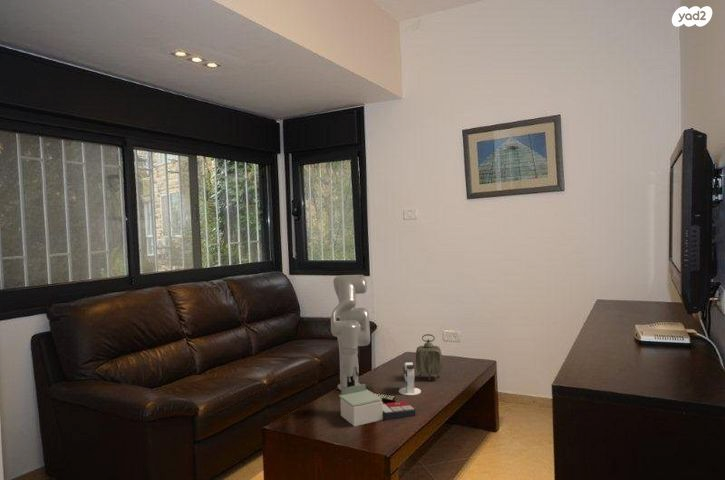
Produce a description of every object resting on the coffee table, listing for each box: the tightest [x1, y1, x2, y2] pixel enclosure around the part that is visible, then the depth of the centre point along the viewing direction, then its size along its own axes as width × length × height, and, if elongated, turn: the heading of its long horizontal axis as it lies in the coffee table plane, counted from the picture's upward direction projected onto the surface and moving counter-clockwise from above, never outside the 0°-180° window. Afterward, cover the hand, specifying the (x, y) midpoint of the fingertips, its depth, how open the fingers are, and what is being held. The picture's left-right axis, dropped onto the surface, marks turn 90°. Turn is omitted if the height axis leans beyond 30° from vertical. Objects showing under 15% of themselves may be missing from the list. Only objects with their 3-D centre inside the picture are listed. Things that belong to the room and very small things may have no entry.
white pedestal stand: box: [398, 359, 422, 396], centre depth 247 cm, size 12×11×15 cm
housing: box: [339, 397, 384, 427], centre depth 214 cm, size 14×14×8 cm
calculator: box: [382, 401, 416, 422], centre depth 217 cm, size 11×4×15 cm
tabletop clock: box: [415, 333, 443, 381], centre depth 266 cm, size 14×9×25 cm, turn 84°
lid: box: [338, 383, 383, 406], centre depth 215 cm, size 14×14×4 cm
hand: (351, 389), depth 223 cm, fingers closed
